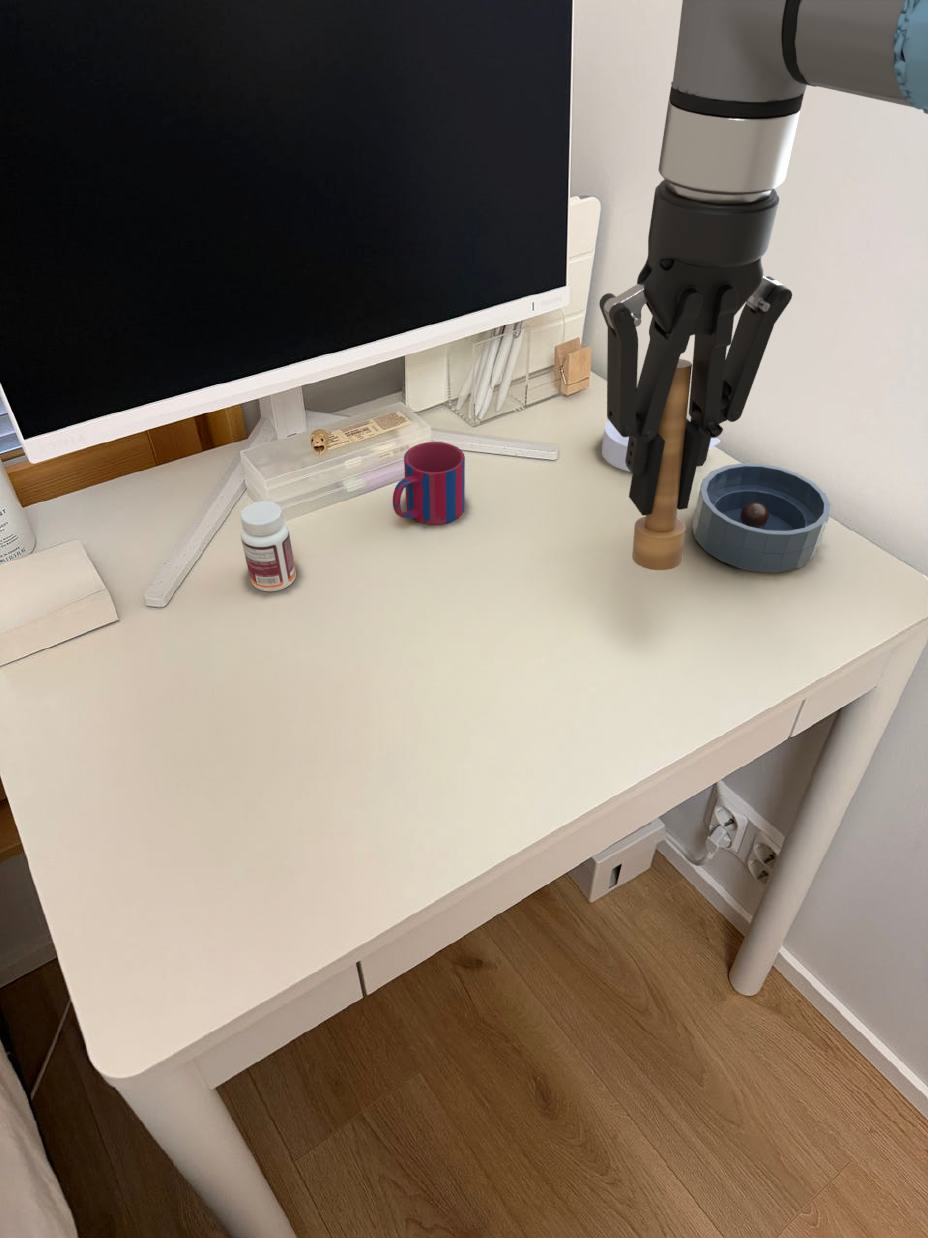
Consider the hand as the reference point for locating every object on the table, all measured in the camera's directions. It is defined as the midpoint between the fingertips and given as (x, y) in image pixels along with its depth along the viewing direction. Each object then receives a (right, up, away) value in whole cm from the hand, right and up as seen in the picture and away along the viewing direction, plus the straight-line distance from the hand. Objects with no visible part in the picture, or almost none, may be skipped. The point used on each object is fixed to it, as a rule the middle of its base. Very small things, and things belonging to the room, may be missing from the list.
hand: (657, 501), depth 68 cm
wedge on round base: (+8, +10, +39) cm, 41 cm away
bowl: (+17, 0, +27) cm, 31 cm away
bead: (+17, +2, +26) cm, 31 cm away
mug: (-20, +3, +30) cm, 36 cm away
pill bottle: (-35, -5, +21) cm, 42 cm away
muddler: (0, -4, +2) cm, 5 cm away
